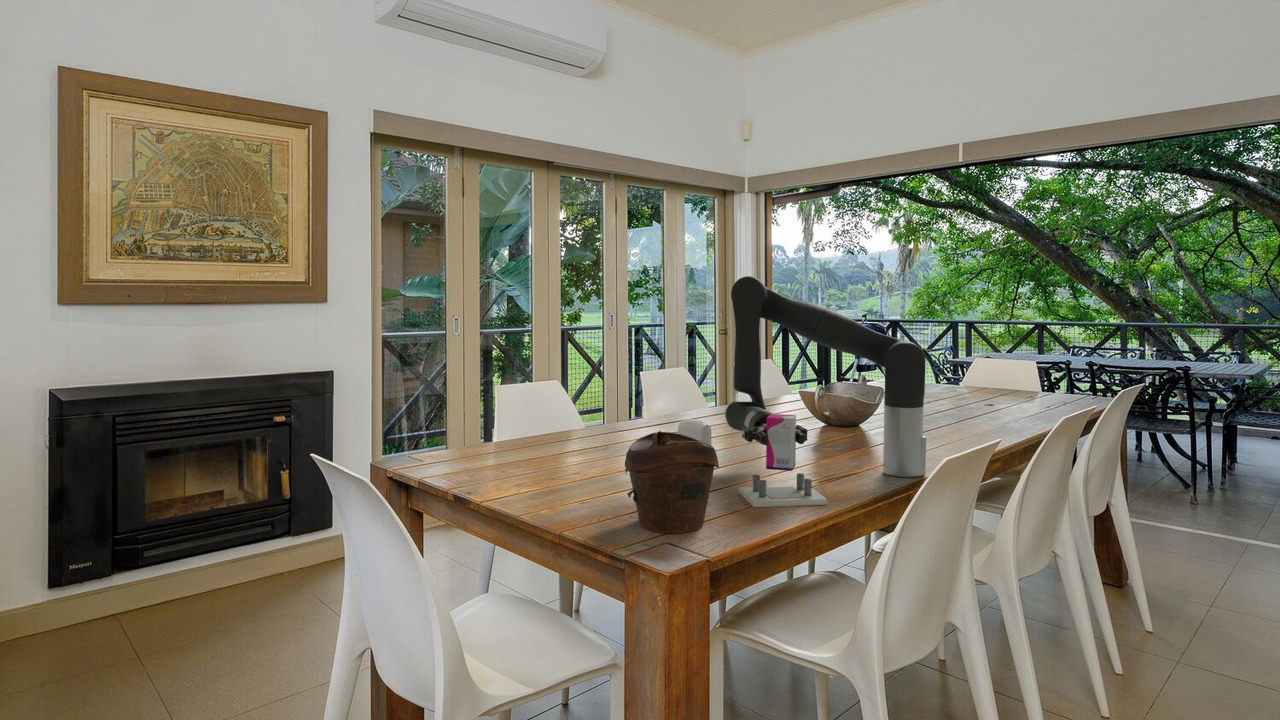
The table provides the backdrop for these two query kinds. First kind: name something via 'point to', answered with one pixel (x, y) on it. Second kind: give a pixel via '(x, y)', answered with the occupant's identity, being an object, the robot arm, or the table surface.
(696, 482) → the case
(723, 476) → the table surface
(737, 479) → the table surface
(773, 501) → the grey peg board
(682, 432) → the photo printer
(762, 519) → the table surface
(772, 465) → the supplement box
